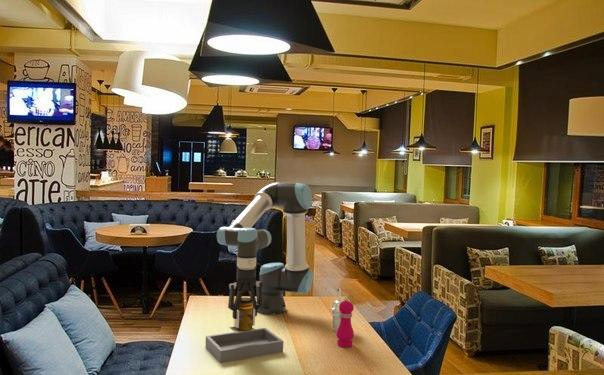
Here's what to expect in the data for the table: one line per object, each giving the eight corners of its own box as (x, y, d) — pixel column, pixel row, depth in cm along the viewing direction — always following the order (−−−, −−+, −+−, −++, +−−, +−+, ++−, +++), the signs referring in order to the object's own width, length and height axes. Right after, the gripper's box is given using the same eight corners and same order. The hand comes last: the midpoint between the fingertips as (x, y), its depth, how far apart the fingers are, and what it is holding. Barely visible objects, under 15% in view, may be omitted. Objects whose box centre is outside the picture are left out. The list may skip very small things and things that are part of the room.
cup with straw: (351, 330, 233) (353, 286, 232) (340, 335, 226) (342, 290, 225) (336, 325, 239) (338, 282, 238) (324, 330, 232) (326, 286, 231)
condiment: (256, 330, 204) (257, 300, 204) (237, 333, 200) (238, 302, 199) (247, 324, 210) (248, 295, 210) (228, 328, 206) (229, 298, 205)
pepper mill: (357, 345, 216) (359, 297, 214) (346, 349, 210) (348, 300, 209) (343, 340, 220) (345, 293, 219) (332, 344, 215) (334, 297, 214)
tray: (265, 338, 220) (265, 327, 220) (283, 352, 205) (283, 341, 205) (205, 347, 207) (205, 336, 207) (220, 362, 192) (220, 350, 192)
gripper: (226, 271, 196) (225, 331, 198) (272, 267, 205) (270, 325, 207) (220, 267, 203) (218, 325, 204) (264, 264, 212) (262, 319, 213)
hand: (244, 325), depth 205 cm, fingers closed on condiment, 6 cm apart
